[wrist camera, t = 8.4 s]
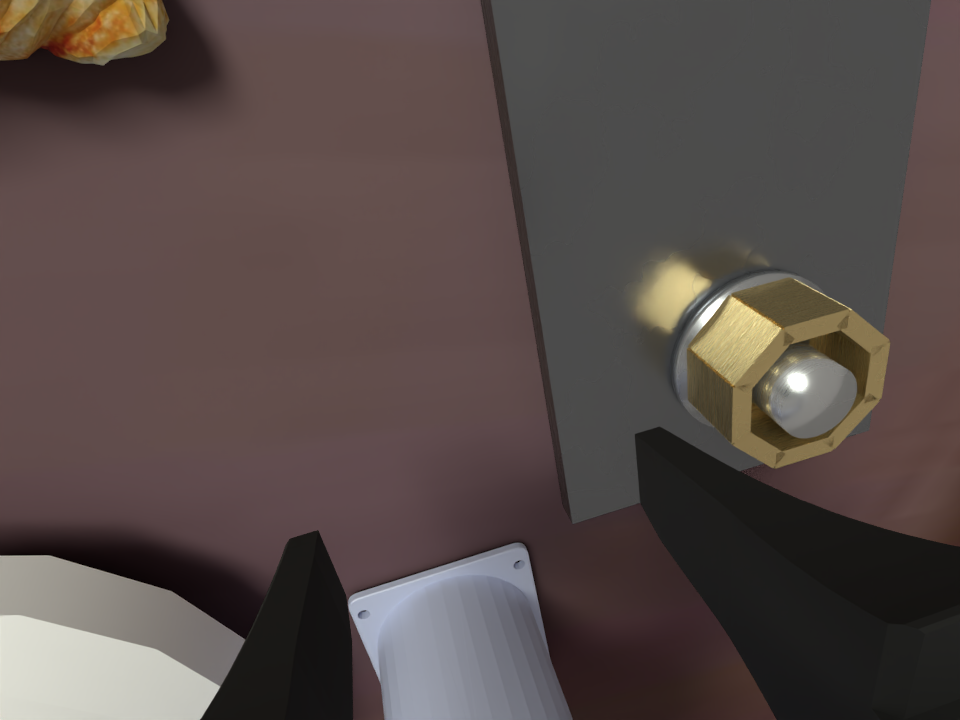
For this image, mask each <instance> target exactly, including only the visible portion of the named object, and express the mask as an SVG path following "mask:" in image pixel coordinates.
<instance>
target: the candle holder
mask: <svg viewBox="0 0 960 720" xmlns="http://www.w3.org/2000/svg"><path fill="white" fill-rule="evenodd" d="M244 642H245V639H244V638H242V637H241V636H239V635H238V634H236V633H235V632H233V631H232V630H230V629H229V628H227V627H225V626H224V625H222V624H221V623H219V622H218V621H216V620H215V619H213V618H212V617H210V616H209V615H207V614H206V613H204V612H203V611H201V610H200V609H198V608H197V607H195V606H193V605H192V604H190V603H189V602H187V601H186V600H184V599H183V598H181V597H180V596H178V595H177V594H175V593H174V592H172V591H169V590H166V589H163V588H159V587H156V586H152V585H149V584H145V583H142V582H139V581H135V580H132V579H128V578H125V577H122V576H118V575H115V574H111V573H108V572H104V571H101V570H98V569H94V568H91V567H87V566H84V565H81V564H77V563H74V562H70V561H67V560H63V559H60V558H57V557H53V556H50V555H33V556H0V720H200V719H201V718H202V716H203V714H204V713H205V711H206V710H207V708H208V706H209V705H210V703H211V701H212V700H213V698H214V697H215V695H216V693H217V692H218V690H219V688H220V686H221V685H222V683H223V681H224V679H225V678H226V676H227V674H228V672H229V671H230V669H231V667H232V665H233V663H234V661H235V659H236V657H237V655H238V653H239V651H240V649H241V647H242V645H243V644H244Z"/></svg>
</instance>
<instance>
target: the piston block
mask: <svg viewBox="0 0 960 720" xmlns="http://www.w3.org/2000/svg"><path fill="white" fill-rule="evenodd" d="M930 4H931V0H481V5H482V12H483V18H484V24H485V30H486V36H487V42H488V48H489V55H490V61H491V67H492V73H493V79H494V85H495V91H496V98H497V104H498V110H499V116H500V122H501V128H502V135H503V141H504V147H505V153H506V159H507V165H508V171H509V178H510V184H511V190H512V196H513V202H514V208H515V214H516V221H517V227H518V233H519V239H520V245H521V251H522V258H523V264H524V270H525V276H526V282H527V288H528V294H529V301H530V307H531V313H532V319H533V325H534V331H535V337H536V344H537V350H538V356H539V362H540V368H541V374H542V381H543V387H544V393H545V399H546V405H547V411H548V417H549V424H550V430H551V436H552V442H553V448H554V454H555V460H556V467H557V473H558V479H559V485H560V491H561V497H562V504H563V507H564V509H565V511H566V513H567V515H568V517H569V518H570V520H571V522H572V524H575V523H578V522H581V521H584V520H587V519H590V518H594V517H597V516H600V515H603V514H606V513H609V512H613V511H616V510H619V509H622V508H625V507H628V506H631V505H635V504H638V503H640V495H639V482H638V470H637V458H636V446H635V434H636V433H640V432H643V431H646V430H650V429H653V428H656V427H662V428H664V429H665V430H667V431H669V432H671V433H672V434H674V435H676V436H677V437H679V438H681V439H683V440H684V441H686V442H688V443H689V444H691V445H693V446H695V447H696V448H698V449H700V450H702V451H703V452H705V453H707V454H709V455H710V456H712V457H714V458H716V459H718V460H719V461H721V462H723V463H725V464H727V465H729V466H730V467H732V468H734V469H736V470H738V471H742V470H745V469H748V468H751V467H755V466H758V465H761V464H764V463H763V462H761V461H759V460H757V459H756V458H754V457H752V456H750V455H749V454H747V453H745V452H743V451H742V450H740V449H738V448H736V447H735V446H733V445H732V444H731V443H730V442H729V441H728V440H727V439H726V438H725V437H724V436H723V435H722V434H721V433H720V432H719V431H718V430H717V429H716V428H715V427H714V426H713V425H712V424H711V423H710V422H709V421H708V420H707V419H706V418H705V417H704V416H703V415H702V414H701V413H700V412H699V411H698V410H697V409H696V408H695V407H694V406H693V405H692V404H691V403H690V402H689V401H688V393H687V348H689V347H688V345H689V344H690V342H691V341H692V340H693V339H694V337H695V336H696V335H697V334H698V332H699V331H700V330H701V329H702V327H703V326H704V325H705V324H706V322H707V321H708V320H709V319H710V317H711V316H712V315H713V314H714V312H715V311H716V310H717V309H718V308H719V306H720V305H721V304H722V303H723V301H724V300H725V299H726V298H727V296H728V295H730V296H731V293H733V292H737V291H740V290H744V289H748V288H751V287H755V286H759V285H762V284H766V283H770V282H773V281H777V280H780V279H784V278H788V277H790V278H793V279H795V280H797V281H799V282H801V283H803V284H805V285H807V286H808V287H810V288H812V289H814V290H816V291H818V292H820V293H822V294H824V295H826V296H827V297H829V298H831V299H833V300H835V301H837V302H839V303H841V304H843V305H845V306H846V307H848V308H850V309H852V310H853V311H854V312H856V313H857V314H858V315H859V316H861V317H862V318H863V319H864V320H865V321H867V322H868V323H869V324H870V325H872V326H873V327H874V328H875V329H877V330H878V331H879V332H880V333H881V334H883V330H884V323H885V316H886V309H887V302H888V295H889V288H890V281H891V274H892V267H893V260H894V253H895V247H896V240H897V233H898V226H899V219H900V212H901V205H902V198H903V191H904V184H905V177H906V170H907V163H908V156H909V150H910V143H911V136H912V129H913V122H914V115H915V108H916V101H917V94H918V87H919V80H920V73H921V66H922V59H923V53H924V46H925V39H926V32H927V25H928V18H929V11H930ZM856 393H857V382H856V379H855V377H854V375H853V374H852V372H850V371H849V370H848V369H846V368H845V367H843V366H842V365H840V364H838V363H837V362H835V361H834V360H832V359H831V358H829V357H828V356H826V355H825V354H823V353H821V352H820V351H818V350H817V349H815V348H814V347H812V346H811V345H809V339H808V340H804V341H801V342H797V343H794V344H790V345H789V346H788V348H787V349H786V350H785V351H784V352H783V353H782V355H781V356H780V357H779V358H778V359H777V360H776V362H775V363H774V364H773V365H772V366H771V367H770V369H769V370H768V371H767V372H766V373H765V374H764V376H763V377H762V378H761V379H760V380H759V381H758V383H757V384H756V385H755V386H754V387H753V388H752V403H754V404H755V405H756V406H757V407H758V408H760V409H761V410H762V411H763V412H764V413H765V414H767V415H768V416H769V417H770V418H771V419H772V420H774V421H775V422H776V423H777V424H778V425H779V426H781V427H782V428H783V429H784V430H785V431H786V432H788V433H789V434H790V435H792V436H794V437H797V438H812V437H816V436H819V435H821V434H823V433H826V432H827V431H829V430H831V429H832V428H833V427H835V426H836V425H837V424H838V423H839V422H840V421H841V420H842V419H843V418H844V417H845V416H846V415H847V413H848V412H849V411H850V409H851V407H852V405H853V403H854V401H855V398H856ZM871 413H872V410H871V411H870V412H869V413H868V414H867V415H866V416H865V417H864V418H863V419H862V420H861V422H860V423H859V424H858V425H857V426H856V427H855V428H854V429H853V430H852V431H851V432H850V433H849V434H848V435H847V437H849V436H853V435H856V434H859V433H862V432H865V431H868V430H869V427H870V420H871Z"/></svg>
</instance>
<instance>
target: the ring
mask: <svg viewBox="0 0 960 720" xmlns="http://www.w3.org/2000/svg"><path fill="white" fill-rule="evenodd" d="M808 339H809V345H811V346H812V347H814V348H815V349H817V350H818V351H820V352H821V353H823V354H825V355H826V356H828V357H829V358H831V359H832V360H834V361H835V362H837V363H838V364H840V365H842V366H843V367H845V368H846V369H848V370H849V371H850V372H852V374H853V375H854V377H855V379H856V382H857V393H856V398H855V401H854V403H853V405H852V407H851V409H850V411H849V412H848V413H847V415H846V416H845V417H844V418H843V419H842V420H841V421H840V422H839V423H838V424H837V425H836V426H835V427H833V428H832V429H831V430H829V431H827V432H826V433H823V434H821V435H819V436H816V437H812V438H797V437H794V436H792V435H790V434H789V433H788V432H786V431H785V430H784V429H783V428H782V427H781V426H779V425H778V424H777V423H776V422H775V421H774V420H772V419H771V418H770V417H769V416H768V415H767V414H765V413H764V412H763V411H762V410H761V409H760V408H758V407H757V406H756V405H755V404H754V403H752V388H753V387H754V386H755V385H756V384H757V383H758V381H759V380H760V379H761V378H762V377H763V376H764V374H765V373H766V372H767V371H768V370H769V369H770V367H771V366H772V365H773V364H774V363H775V362H776V360H777V359H778V358H779V357H780V356H781V355H782V353H783V352H784V351H785V350H786V349H787V348H788V346H789V345H790V344H794V343H797V342H801V341H804V340H808ZM688 347H689V348H687V393H688V401H689V402H690V403H691V404H692V405H693V406H694V407H695V408H696V409H697V410H698V411H699V412H700V413H701V414H702V415H703V416H704V417H705V418H706V419H707V420H708V421H709V422H710V423H711V424H712V425H713V426H714V427H715V428H716V429H717V430H718V431H719V432H720V433H721V434H722V435H723V436H724V437H725V438H726V439H727V440H728V441H729V442H730V443H731V444H732V445H733V446H735V447H736V448H738V449H740V450H742V451H743V452H745V453H747V454H749V455H750V456H752V457H754V458H756V459H757V460H759V461H761V462H763V463H764V464H766V465H768V466H770V467H772V468H775V469H776V468H779V467H782V466H785V465H788V464H792V463H795V462H798V461H801V460H805V459H808V458H811V457H814V456H817V455H821V454H824V453H827V452H830V451H832V450H833V449H835V448H836V447H837V446H838V445H839V444H840V443H841V442H842V441H843V440H844V439H845V438H846V437H847V435H848V434H849V433H850V432H851V431H852V430H853V429H854V428H855V427H856V426H857V425H858V424H859V423H860V422H861V420H862V419H863V418H864V417H865V416H866V415H867V414H868V413H869V412H870V411H871V410H872V409H873V408H874V407H875V405H876V404H877V403H878V402H879V401H880V400H878V399H881V397H882V391H883V385H884V379H885V372H886V366H887V360H888V354H889V347H890V342H889V339H888V338H886V337H885V336H884V335H883V334H881V333H880V332H879V331H878V330H877V329H875V328H874V327H873V326H872V325H870V324H869V323H868V322H867V321H865V320H864V319H863V318H862V317H861V316H859V315H858V314H857V313H856V312H854V311H853V310H852V309H850V308H848V307H846V306H845V305H843V304H841V303H839V302H837V301H835V300H833V299H831V298H829V297H827V296H826V295H824V294H822V293H820V292H818V291H816V290H814V289H812V288H810V287H808V286H807V285H805V284H803V283H801V282H799V281H797V280H795V279H793V278H790V277H788V278H784V279H780V280H777V281H773V282H770V283H766V284H762V285H759V286H755V287H751V288H748V289H744V290H740V291H737V292H733V293H731V296H730V295H728V296H727V298H726V299H725V300H724V301H723V303H722V304H721V305H720V306H719V308H718V309H717V310H716V311H715V312H714V314H713V315H712V316H711V317H710V319H709V320H708V321H707V322H706V324H705V325H704V326H703V327H702V329H701V330H700V331H699V332H698V334H697V335H696V336H695V337H694V339H693V340H692V341H691V342H690V344H689V345H688Z"/></svg>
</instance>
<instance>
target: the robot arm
mask: <svg viewBox="0 0 960 720" xmlns="http://www.w3.org/2000/svg"><path fill="white" fill-rule="evenodd" d="M635 446H636V458H637V470H638V482H639V495H640V503H641V505H642V507H643V509H644V510H645V512H646V514H647V516H648V518H649V520H650V522H651V524H652V525H653V527H654V529H655V531H656V533H657V534H658V536H659V538H660V540H661V541H662V543H663V544H664V546H665V547H666V548H667V550H668V551H669V553H670V554H671V555H672V557H673V558H674V560H675V561H676V562H677V564H678V565H679V567H680V568H681V569H682V571H683V572H684V574H685V575H686V576H687V578H688V579H689V580H690V582H691V583H692V585H693V586H694V587H695V589H696V590H697V592H698V593H699V594H700V596H701V597H702V598H703V600H704V601H705V603H706V604H707V605H708V607H709V608H710V609H711V611H712V612H713V614H714V615H715V616H716V618H717V619H718V621H719V622H720V624H721V625H722V627H723V628H724V630H725V631H726V633H727V634H728V636H729V637H730V639H731V640H732V642H733V644H734V645H735V647H736V649H737V651H738V652H739V654H740V656H741V657H742V659H743V661H744V663H745V664H746V666H747V668H748V669H749V671H750V673H751V675H752V676H753V678H754V680H755V681H756V683H757V685H758V687H759V689H760V690H761V692H762V694H763V696H764V698H765V699H766V701H767V703H768V705H769V707H770V708H771V710H772V712H773V714H774V715H775V717H776V719H777V720H960V547H958V546H952V545H947V544H943V543H939V542H934V541H930V540H926V539H922V538H918V537H914V536H909V535H905V534H902V533H898V532H894V531H891V530H887V529H883V528H880V527H877V526H874V525H870V524H867V523H864V522H861V521H858V520H854V519H851V518H848V517H845V516H842V515H839V514H837V513H834V512H831V511H828V510H826V509H823V508H820V507H818V506H815V505H813V504H810V503H808V502H805V501H802V500H800V499H797V498H795V497H793V496H790V495H788V494H786V493H783V492H781V491H779V490H777V489H775V488H773V487H771V486H768V485H766V484H764V483H762V482H760V481H758V480H756V479H754V478H752V477H750V476H748V475H746V474H744V473H742V472H740V471H738V470H736V469H734V468H732V467H730V466H729V465H727V464H725V463H723V462H721V461H719V460H718V459H716V458H714V457H712V456H710V455H709V454H707V453H705V452H703V451H702V450H700V449H698V448H696V447H695V446H693V445H691V444H689V443H688V442H686V441H684V440H683V439H681V438H679V437H677V436H676V435H674V434H672V433H671V432H669V431H667V430H665V429H664V428H662V427H656V428H653V429H650V430H646V431H643V432H640V433H636V434H635ZM519 560H521V561H520V562H518V563H515V562H517V561H519ZM348 605H349V611H350V613H351V616H352V618H353V620H354V623H355V625H356V627H357V630H358V632H359V634H360V636H361V639H362V641H363V643H364V646H365V648H366V650H367V653H368V655H369V657H370V660H371V662H372V664H373V667H374V669H375V671H376V674H377V676H378V678H379V680H380V683H381V689H382V699H383V709H384V718H385V720H573V718H572V716H571V713H570V710H569V708H568V705H567V702H566V700H565V697H564V694H563V692H562V689H561V686H560V684H559V681H558V678H557V676H556V673H555V670H554V668H553V665H552V663H551V660H550V655H549V650H548V646H547V641H546V636H545V631H544V626H543V622H542V617H541V612H540V607H539V602H538V598H537V593H536V588H535V583H534V578H533V574H532V569H531V564H530V559H529V555H528V551H527V549H526V547H525V545H524V544H522V543H513V544H509V545H506V546H503V547H500V548H497V549H494V550H490V551H487V552H484V553H481V554H478V555H475V556H471V557H468V558H465V559H462V560H459V561H456V562H453V563H449V564H446V565H443V566H440V567H437V568H434V569H430V570H427V571H424V572H421V573H418V574H415V575H411V576H408V577H405V578H402V579H399V580H396V581H393V582H389V583H386V584H383V585H380V586H377V587H374V588H370V589H367V590H364V591H361V592H358V593H355V594H353V595H352V596H351V597H350V598H349V600H348ZM363 610H367V611H365V612H361V611H363ZM200 720H353V687H352V638H351V629H350V621H349V614H348V606H347V599H346V594H345V592H344V589H343V587H342V585H341V582H340V580H339V578H338V575H337V573H336V571H335V568H334V566H333V564H332V561H331V559H330V557H329V554H328V552H327V550H326V547H325V545H324V543H323V540H322V538H321V536H320V533H319V531H318V530H317V531H314V532H311V533H307V534H304V535H301V536H297V537H294V538H291V539H289V541H288V542H287V544H286V546H285V549H284V552H283V554H282V557H281V560H280V562H279V565H278V567H277V570H276V573H275V575H274V578H273V580H272V582H271V585H270V587H269V590H268V592H267V594H266V597H265V599H264V601H263V603H262V606H261V608H260V610H259V612H258V614H257V617H256V619H255V621H254V623H253V625H252V628H251V630H250V632H249V634H248V636H247V638H246V640H245V642H244V644H243V645H242V647H241V649H240V651H239V653H238V655H237V657H236V659H235V661H234V663H233V665H232V667H231V669H230V671H229V672H228V674H227V676H226V678H225V679H224V681H223V683H222V685H221V686H220V688H219V690H218V692H217V693H216V695H215V697H214V698H213V700H212V701H211V703H210V705H209V706H208V708H207V710H206V711H205V713H204V714H203V716H202V718H201V719H200Z"/></svg>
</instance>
